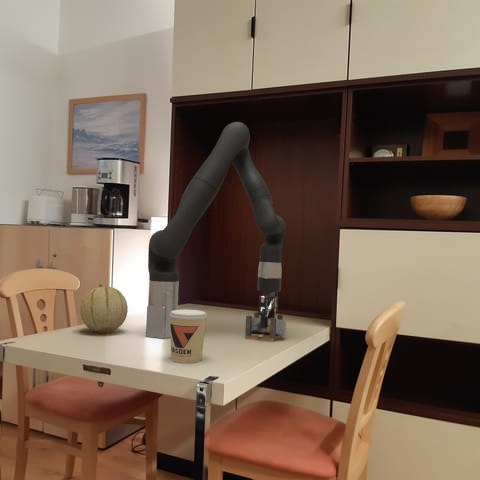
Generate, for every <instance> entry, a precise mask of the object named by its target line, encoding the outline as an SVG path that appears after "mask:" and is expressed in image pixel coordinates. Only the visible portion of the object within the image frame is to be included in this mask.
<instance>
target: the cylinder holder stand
mask: <svg viewBox="0 0 480 480" xmlns="http://www.w3.org/2000/svg"><path fill="white" fill-rule="evenodd" d="M253 315H254V316H252V315H245V316H246V317H245V330H244V331H245V333H244V334H245V335H244V340H250V341H251V340H252V341H261V342H268V343H269V342H271V343H275V342H276V341H278V340H279V339H280V338H282V337H283V336H280V335H276V319H279V320H284V318H283V317H284V315H283V314H277V317H275V318H271V320H270V335H268V334H259V333H251V325H252V317H256V318H261V316H260V315H258V311H257V312H254V313H253Z"/></svg>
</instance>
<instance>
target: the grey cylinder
mask: <svg viewBox="0 0 480 480" xmlns="http://www.w3.org/2000/svg"><path fill="white" fill-rule="evenodd" d="M260 319H261V317H259V318H256V317H254V316H252V325H251V333H259V334H268V335H270V320H271V319H268V327H267V329H261V328H260ZM286 329H287V321H286V319H283V320H279V319H277V318H276V335H280V336H282V337H283V336H285V334H286Z"/></svg>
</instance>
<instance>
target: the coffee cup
mask: <svg viewBox="0 0 480 480" xmlns="http://www.w3.org/2000/svg"><path fill="white" fill-rule="evenodd" d="M207 318H208V315H207V313H206V311H203V310H198V309H177V310H174V311H171V314H170V334H171V337H170V359H171V361H173V362H175V363H183V364H190V363H193V364H194V363H198V362H199V363H200V362H201V361H202V356H203V350H204V340H205V333H206V332H205V331H206V321H207Z"/></svg>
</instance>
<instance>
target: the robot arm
mask: <svg viewBox="0 0 480 480" xmlns="http://www.w3.org/2000/svg"><path fill="white" fill-rule="evenodd" d="M250 134H251V133H250V130H249V128H248V126H247V125H246V124H245V123H243V122H242V121H234V122H231V123H229V124H227V125H226V126H225V127H224V128H223V130H222V132H221V134H220V136H219V138H218V140H217V142H216V144H215V146H214V148H213V149H212V151H211V153H210V154H209V155H208V156H207V158H205V159H206V160H205V161H204V162H203V163H202V165H201V166H200V168H199V169H198V170H197V172H196V173H195V174H194V176H193V177H192V178H191V180H190V181H189V183H188V185H187V186H186V188H185V189H184V192H183V194H182V196H181V198H180V202H179V205H178V207H177V210H176V212H175V214H174V215H173V217H172V218H171V219H170V221H169V223H168V224H167V225H166V226H165V227H164V228H163V229H160V230H158V231H155V232H154V233H152V234H151V236H150V239H149V241H148V252H147V254H148V256H147V264H148V266H147V268H148V269H147V270H148V274H149V275H148V276H149V278H148V281H149V282H148V298H147V299H148V300H147V306H146V324H145V326H146V327H145V337H146V338H147V337H149V338H157V339H167V338H168V339H169V338H171V334H170V314H171V311H174V310H178V307H179V306H178V304H179V287H180V285H179V282H180V281H179V280H180V273H179V270H178V266H177V257H178V256H179V255H180V254H181V253H182V252H183V250H184V248H185V246H186V243H187V242H188V240H189V237H190V236H191V234H192V231H193V230H194V229H195V227H196V225H197V223H198V222H199V221H200V220H201V218H202V216H203V215H204V214H205V212H206V211H207V209H208V208H209V207H210V205H211V204H212V203H213V201H214V199H215V197H216V196H217V194H218V193H219V191H220V190H221V186H222V185H223V183H224V180H225V178H226V176H227V173H228V171H229V169H230V167H231V164H232V165H233V167H234V169H235V170H236V173H237V175H238V176H239V179H240V181H241V182H242V186H243V187H244V190H245V193H246V196H247V198H248V200H249V203H250V205H251V207H252V209H253V213H254V215H253V216H254V219H255V223H256V225H257V227H258V229H259V231H260V233H261V234H262V235H264V239H263V244H262V245H260V248H259V264H258V268H257V269H258V271H257V291H259V292H262V295H259V297H258V308H257V309H258V311H257V312H258V315H260V318H261V319H260V328H261V329H267V327H268V319H271V318H276V312H277V311H278V304H279V303H278V300H279V299H278V297H279V296H278V295H279V294H278V293H280V292H281V290H282V272H283V271H282V254H283V253H282V249H283V245H284V239H285V234H286V223H285V221H284V219H283V218H282V217H281V216H280V215H277V214H276V213H275V210H274V208H273V203H274V202H273V198H272V195H271V193H270V191H269V188H268V185H267V183H266V182H265V180H264V177H262V175H261V174H260V173H259V171H258V170H257V168H256V166H255V165H254V162H253V159H252V157H251V153H250V150H249V145H250V140H251V138H250V137H251V135H250Z"/></svg>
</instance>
